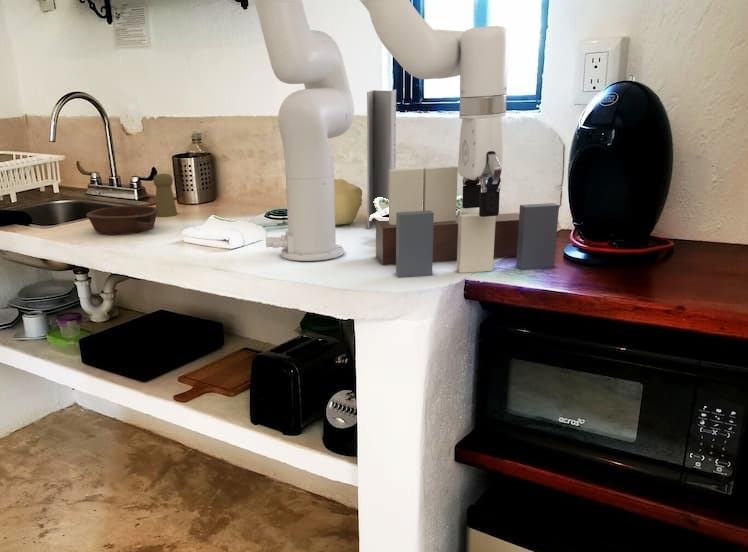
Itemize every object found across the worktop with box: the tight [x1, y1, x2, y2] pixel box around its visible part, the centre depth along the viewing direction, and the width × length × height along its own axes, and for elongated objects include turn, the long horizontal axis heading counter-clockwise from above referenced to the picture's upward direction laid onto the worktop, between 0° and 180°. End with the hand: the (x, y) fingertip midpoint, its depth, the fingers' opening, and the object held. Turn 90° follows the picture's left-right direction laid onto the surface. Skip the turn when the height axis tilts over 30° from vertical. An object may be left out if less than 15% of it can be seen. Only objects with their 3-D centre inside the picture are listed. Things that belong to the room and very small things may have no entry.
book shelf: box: [375, 212, 519, 266], centre depth 148 cm, size 28×7×7 cm, turn 94°
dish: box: [85, 205, 158, 235], centre depth 192 cm, size 18×22×5 cm
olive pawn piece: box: [152, 173, 178, 218], centre depth 211 cm, size 6×6×11 cm
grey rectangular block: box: [515, 202, 560, 270], centre depth 136 cm, size 6×3×11 cm, turn 94°
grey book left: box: [395, 210, 434, 278], centre depth 136 cm, size 6×3×11 cm, turn 94°
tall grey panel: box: [366, 88, 397, 230], centre depth 180 cm, size 14×6×30 cm, turn 168°
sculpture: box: [334, 178, 363, 226], centre depth 185 cm, size 12×12×11 cm
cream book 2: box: [422, 165, 459, 222], centre depth 145 cm, size 6×2×10 cm, turn 94°
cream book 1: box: [389, 167, 423, 225], centre depth 144 cm, size 6×2×10 cm, turn 94°
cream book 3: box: [456, 213, 496, 274], centre depth 136 cm, size 6×2×10 cm, turn 94°
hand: (479, 211), depth 134 cm, fingers open, 9 cm apart
